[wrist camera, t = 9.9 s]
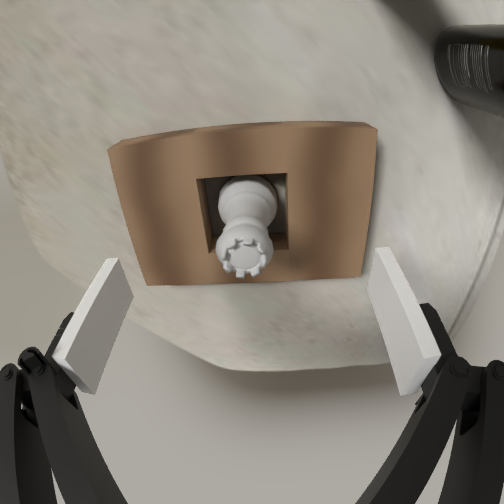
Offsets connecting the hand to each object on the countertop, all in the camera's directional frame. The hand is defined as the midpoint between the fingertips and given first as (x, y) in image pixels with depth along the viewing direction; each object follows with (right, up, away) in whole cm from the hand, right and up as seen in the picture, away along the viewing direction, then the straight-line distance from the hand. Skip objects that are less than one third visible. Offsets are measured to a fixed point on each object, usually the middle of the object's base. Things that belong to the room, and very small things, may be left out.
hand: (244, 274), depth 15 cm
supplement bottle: (+17, +16, 0) cm, 23 cm away
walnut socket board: (0, +5, +8) cm, 9 cm away
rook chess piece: (0, +5, +8) cm, 10 cm away
